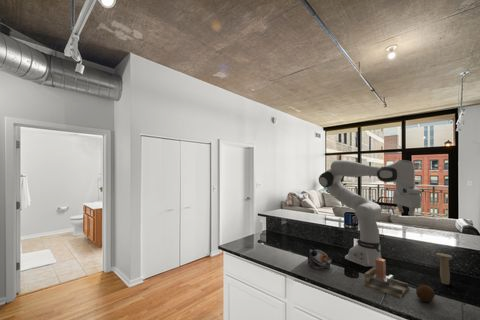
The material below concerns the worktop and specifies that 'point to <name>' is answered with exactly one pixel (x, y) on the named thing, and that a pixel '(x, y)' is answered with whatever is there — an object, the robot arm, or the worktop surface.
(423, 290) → the potato
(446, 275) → the handle
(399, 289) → the frame
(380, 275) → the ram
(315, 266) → the lucky cat figurine
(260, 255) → the worktop surface
